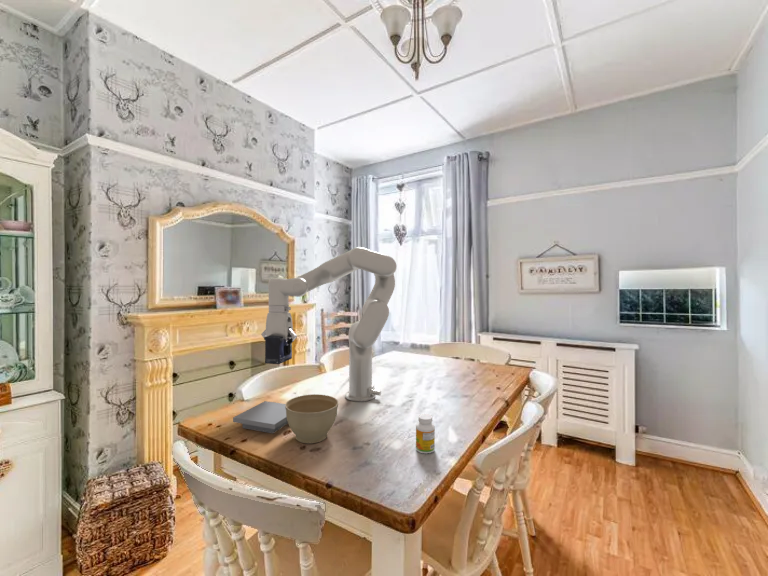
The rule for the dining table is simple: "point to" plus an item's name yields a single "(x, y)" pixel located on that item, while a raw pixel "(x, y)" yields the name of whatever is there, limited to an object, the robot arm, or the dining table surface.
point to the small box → (275, 350)
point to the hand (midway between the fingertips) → (279, 354)
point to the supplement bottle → (425, 434)
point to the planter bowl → (311, 416)
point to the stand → (263, 417)
